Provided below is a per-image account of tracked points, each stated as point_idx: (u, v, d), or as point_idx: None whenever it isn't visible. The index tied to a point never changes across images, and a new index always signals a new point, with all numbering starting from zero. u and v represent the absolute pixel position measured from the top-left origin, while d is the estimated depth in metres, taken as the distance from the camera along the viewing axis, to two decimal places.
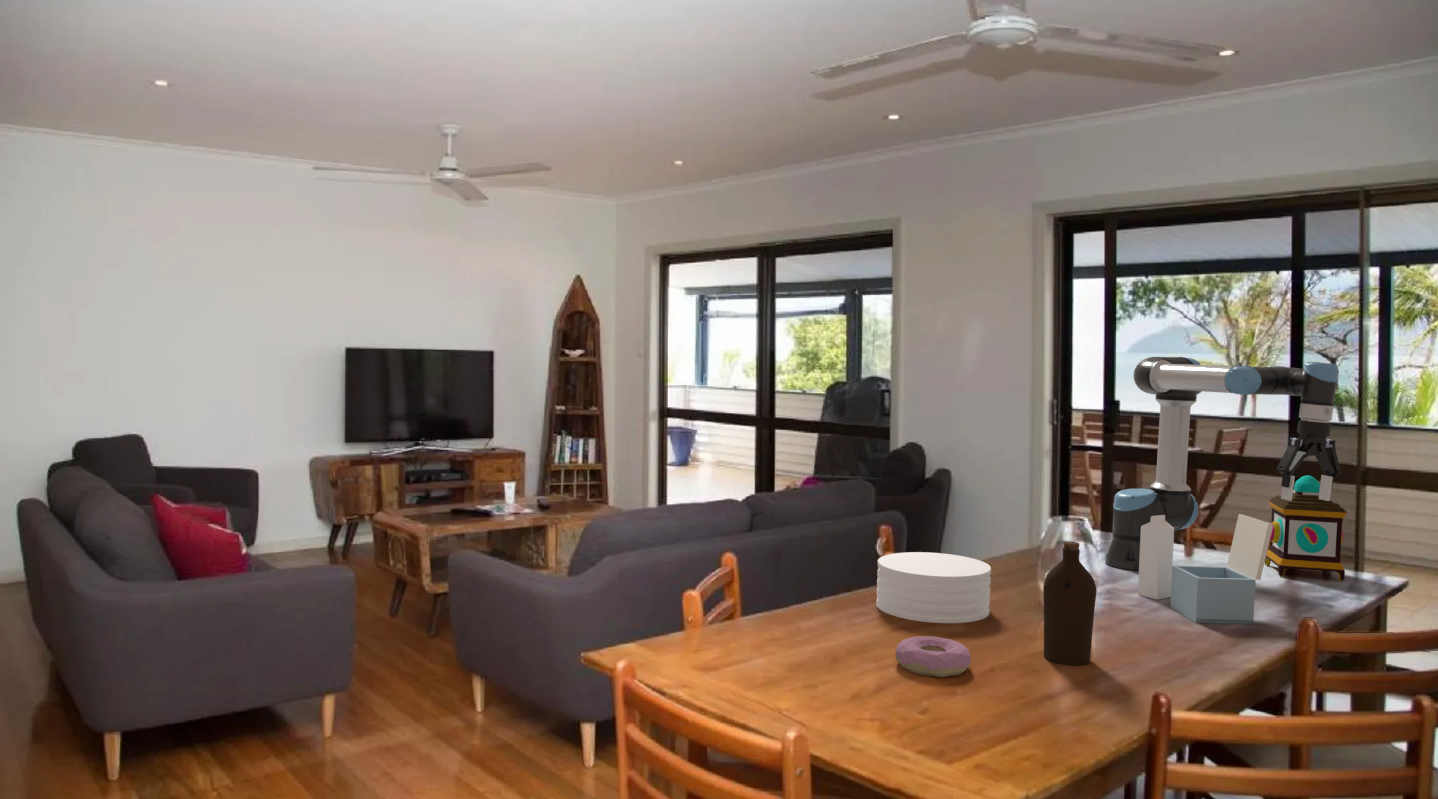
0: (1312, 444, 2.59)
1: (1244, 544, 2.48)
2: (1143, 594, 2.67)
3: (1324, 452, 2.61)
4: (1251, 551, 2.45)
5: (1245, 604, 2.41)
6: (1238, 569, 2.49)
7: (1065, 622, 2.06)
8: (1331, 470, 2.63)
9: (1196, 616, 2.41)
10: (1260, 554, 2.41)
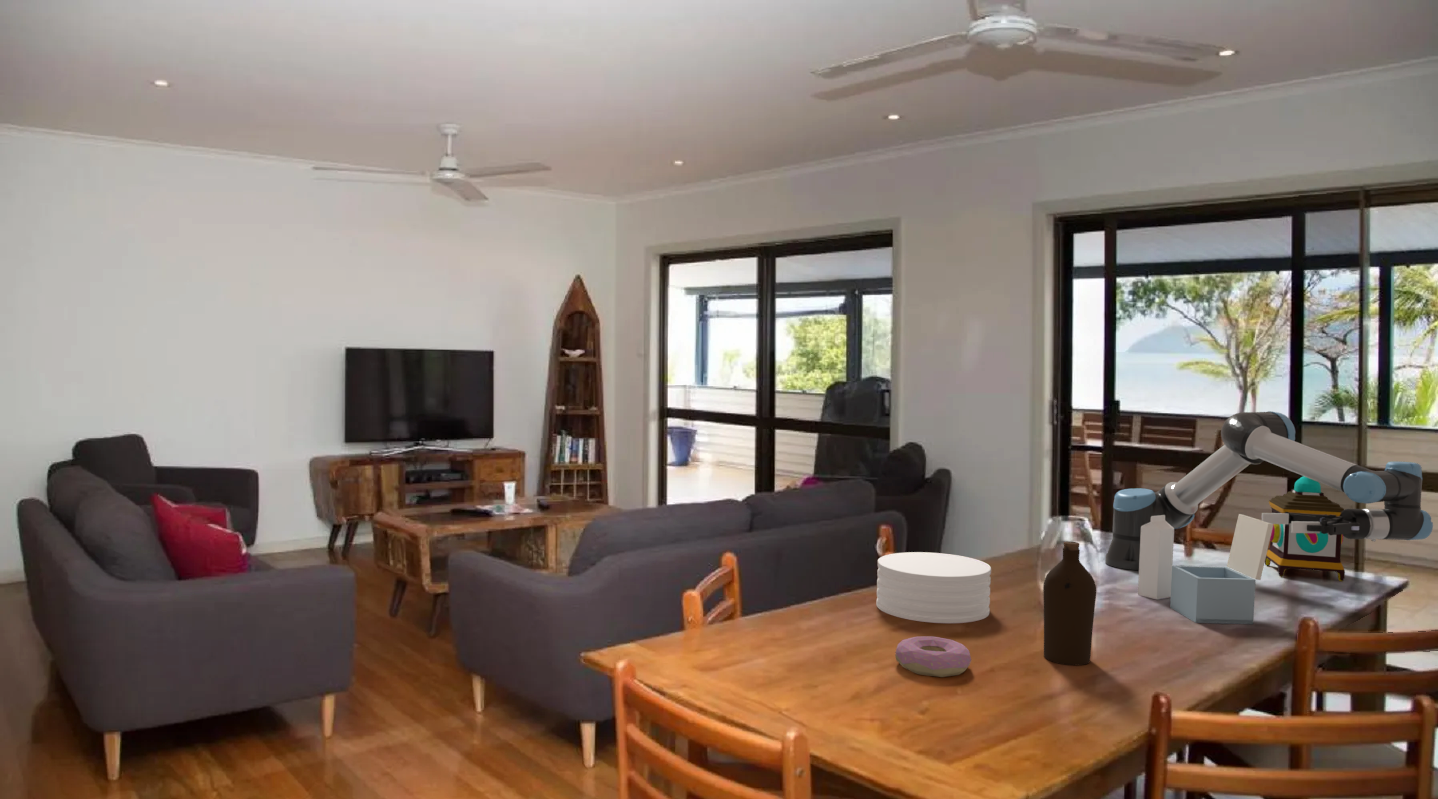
0: None
1: (1244, 544, 2.48)
2: (1143, 594, 2.67)
3: None
4: (1251, 551, 2.45)
5: (1245, 604, 2.41)
6: (1238, 569, 2.49)
7: (1065, 622, 2.06)
8: None
9: (1196, 616, 2.41)
10: (1260, 554, 2.41)
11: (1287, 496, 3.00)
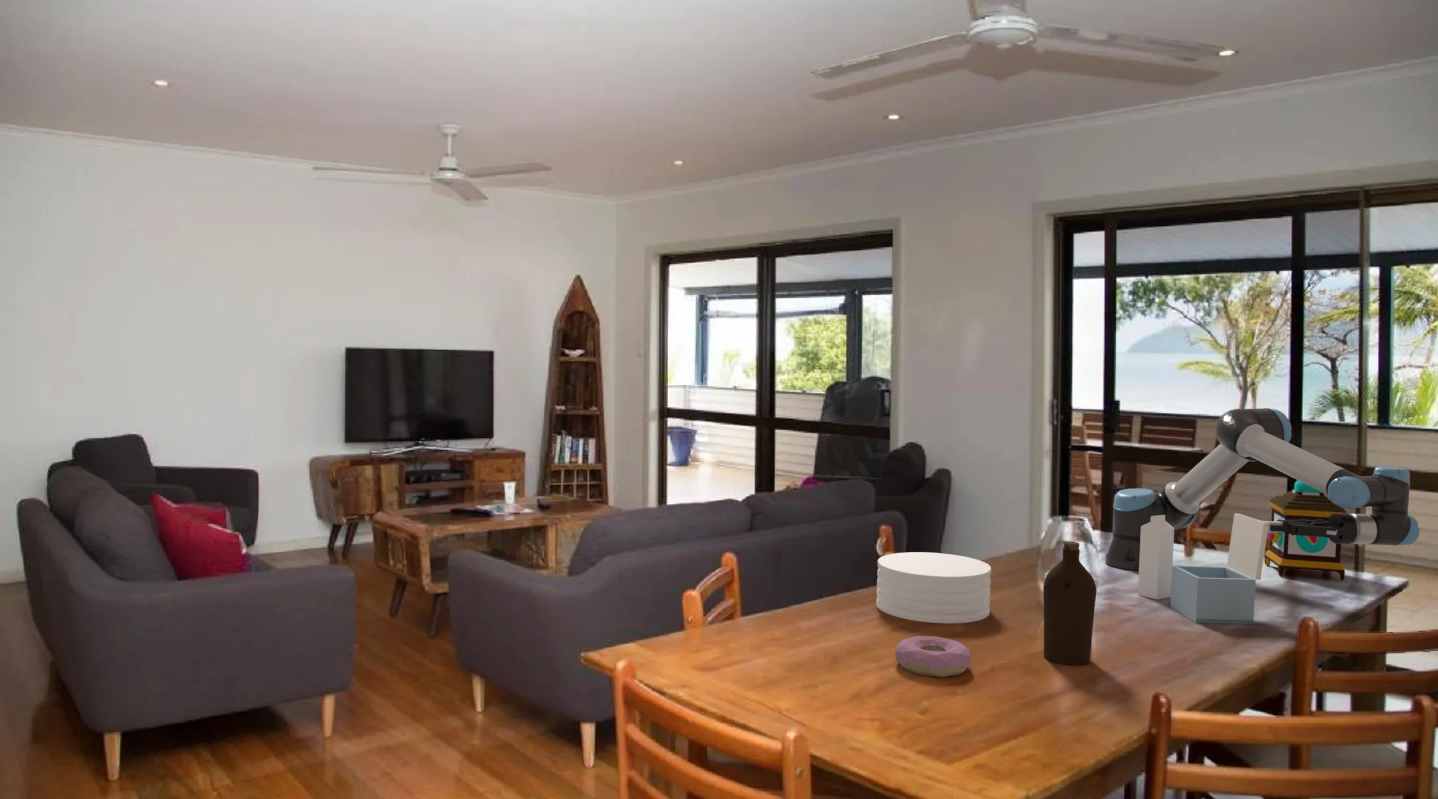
0: None
1: (1242, 544, 2.48)
2: (1143, 594, 2.67)
3: None
4: (1249, 551, 2.45)
5: (1245, 604, 2.41)
6: (1238, 569, 2.49)
7: (1065, 622, 2.06)
8: None
9: (1196, 616, 2.41)
10: (1258, 554, 2.41)
11: (1287, 496, 3.00)
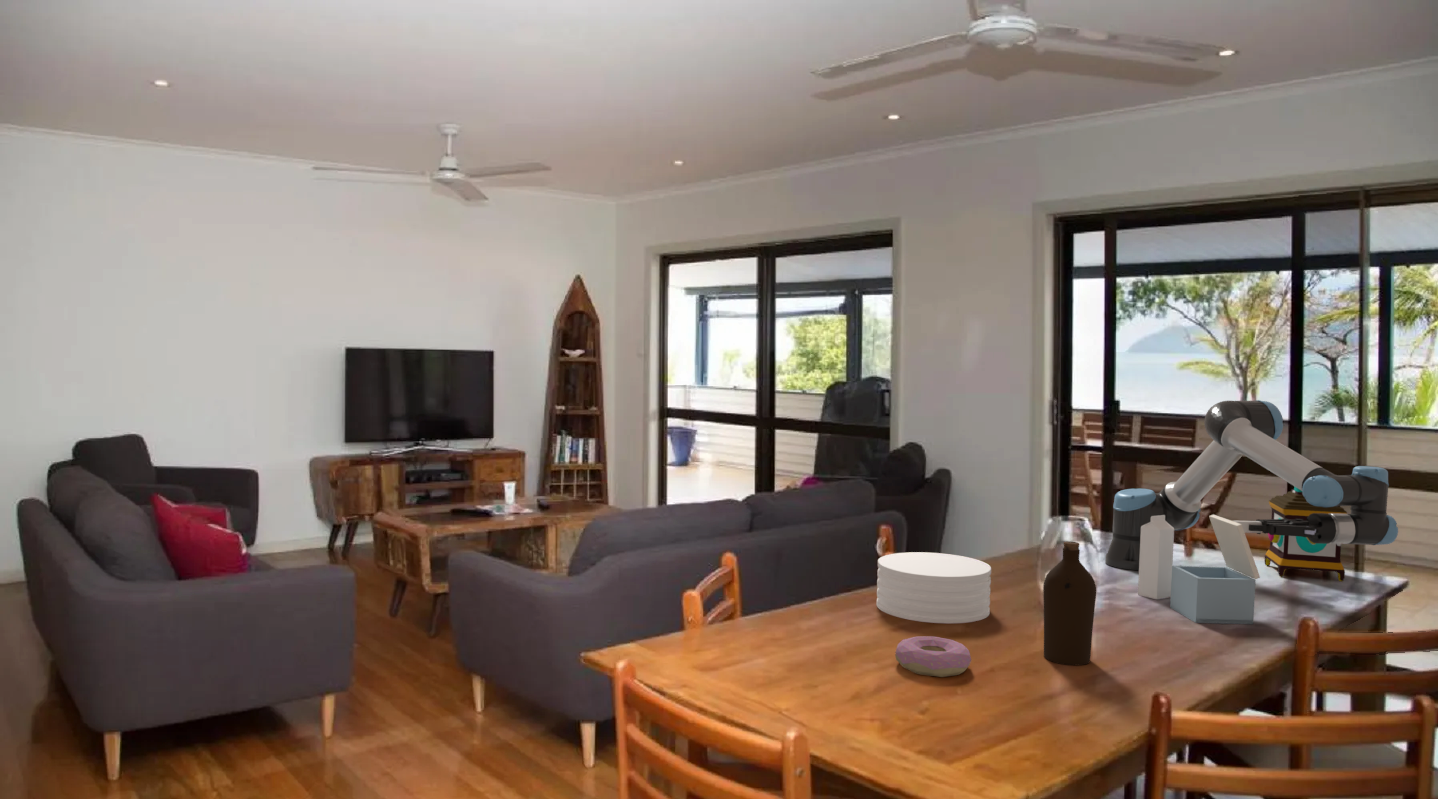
0: None
1: (1229, 545, 2.48)
2: (1143, 594, 2.67)
3: None
4: (1238, 552, 2.45)
5: (1245, 604, 2.41)
6: (1237, 569, 2.49)
7: (1065, 622, 2.06)
8: None
9: (1196, 616, 2.41)
10: (1246, 555, 2.41)
11: (1287, 496, 3.00)
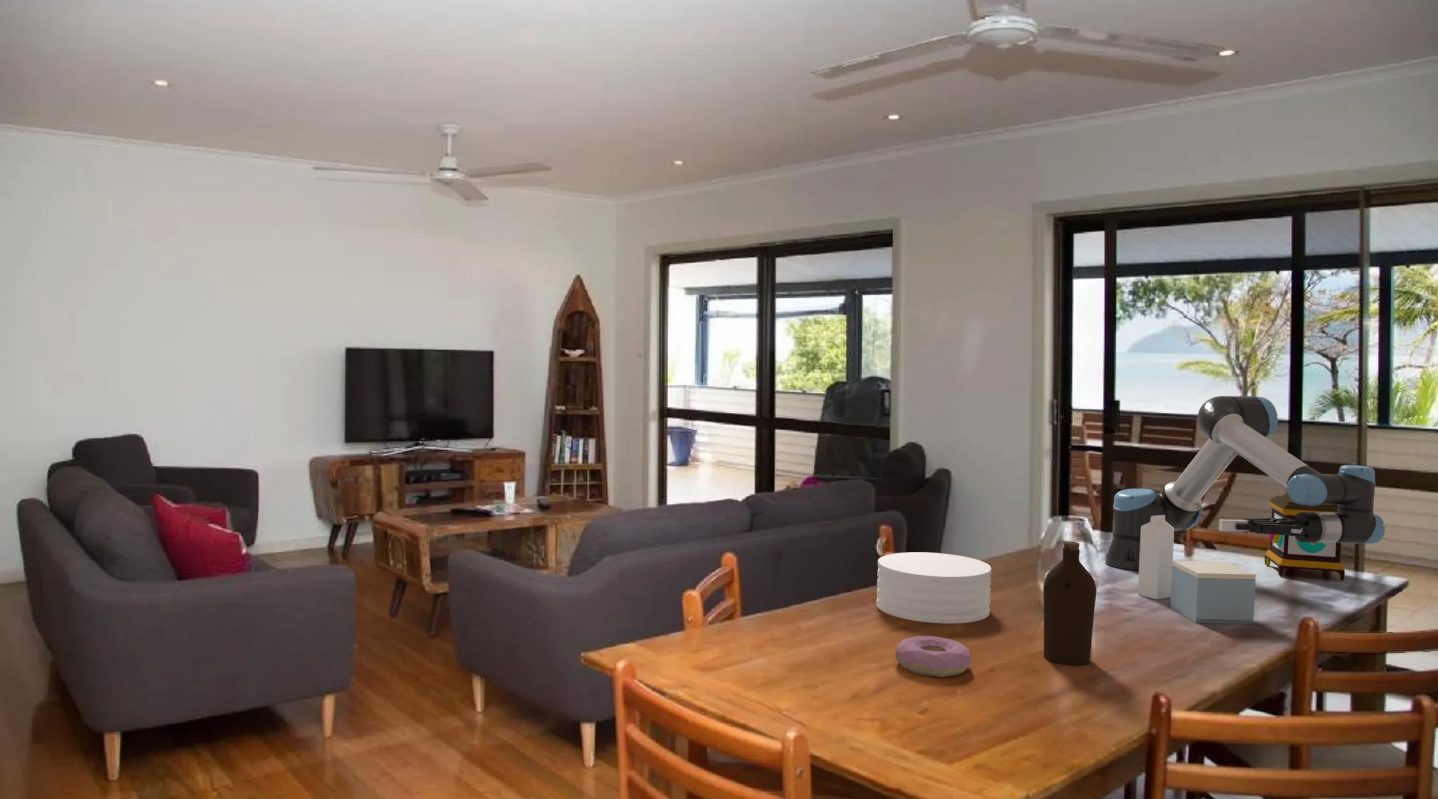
0: None
1: None
2: (1143, 594, 2.67)
3: None
4: None
5: (1245, 604, 2.41)
6: None
7: (1065, 622, 2.06)
8: None
9: (1196, 616, 2.41)
10: None
11: (1287, 496, 3.00)
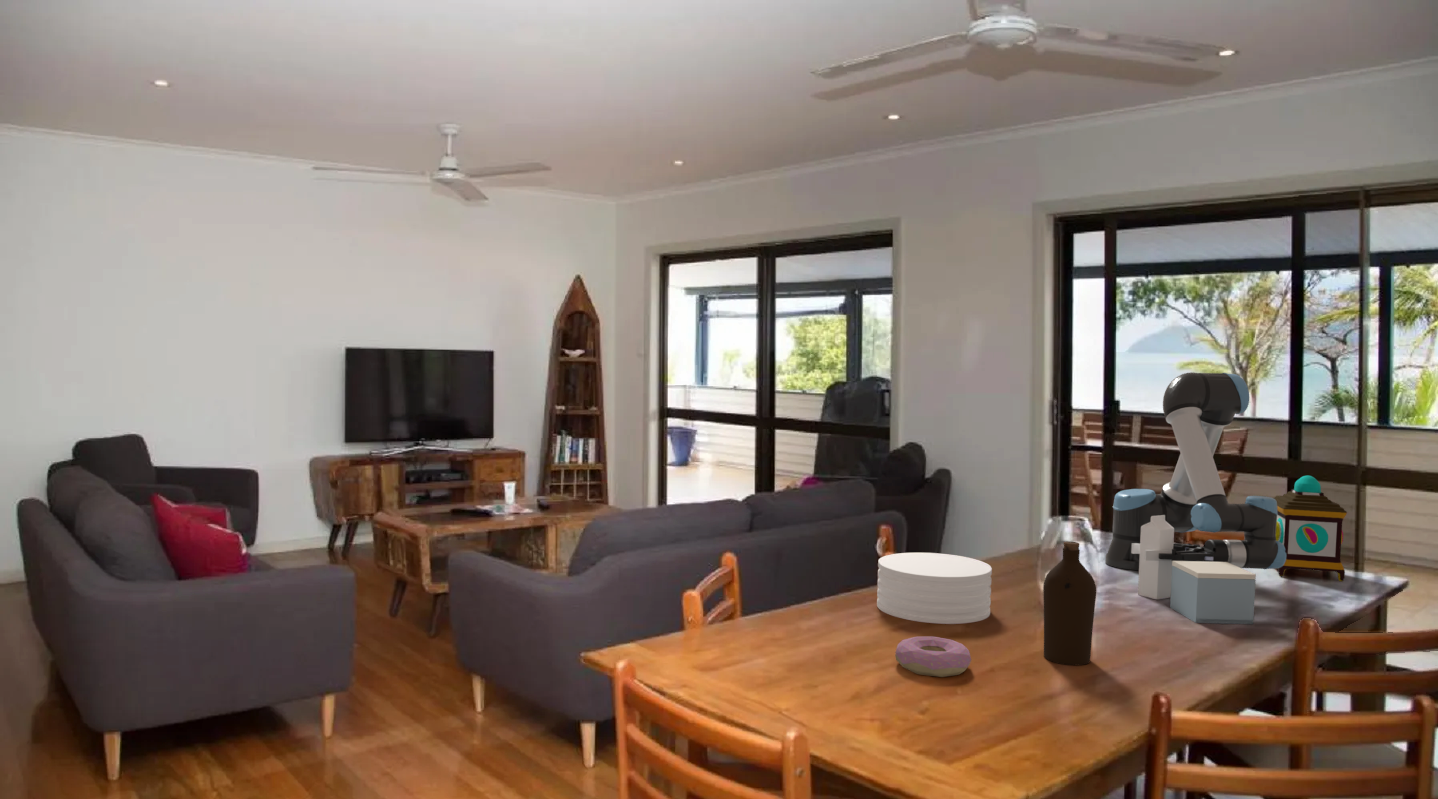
0: None
1: None
2: (1143, 594, 2.67)
3: None
4: None
5: (1245, 604, 2.41)
6: None
7: (1065, 622, 2.06)
8: None
9: (1196, 616, 2.41)
10: None
11: (1287, 496, 3.00)
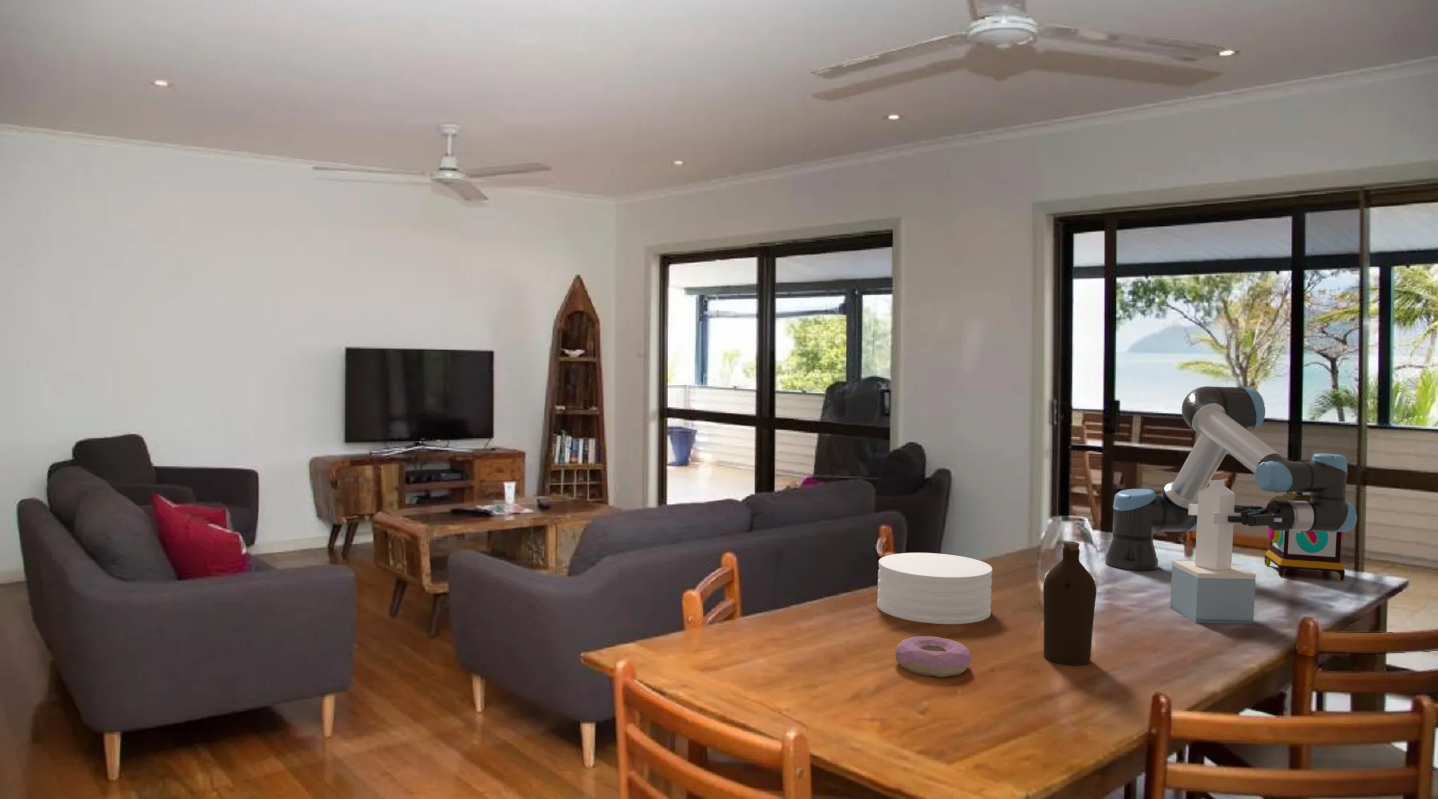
0: None
1: None
2: (1201, 565, 2.47)
3: None
4: None
5: (1245, 604, 2.41)
6: None
7: (1065, 622, 2.06)
8: None
9: (1196, 616, 2.41)
10: None
11: (1287, 496, 3.00)
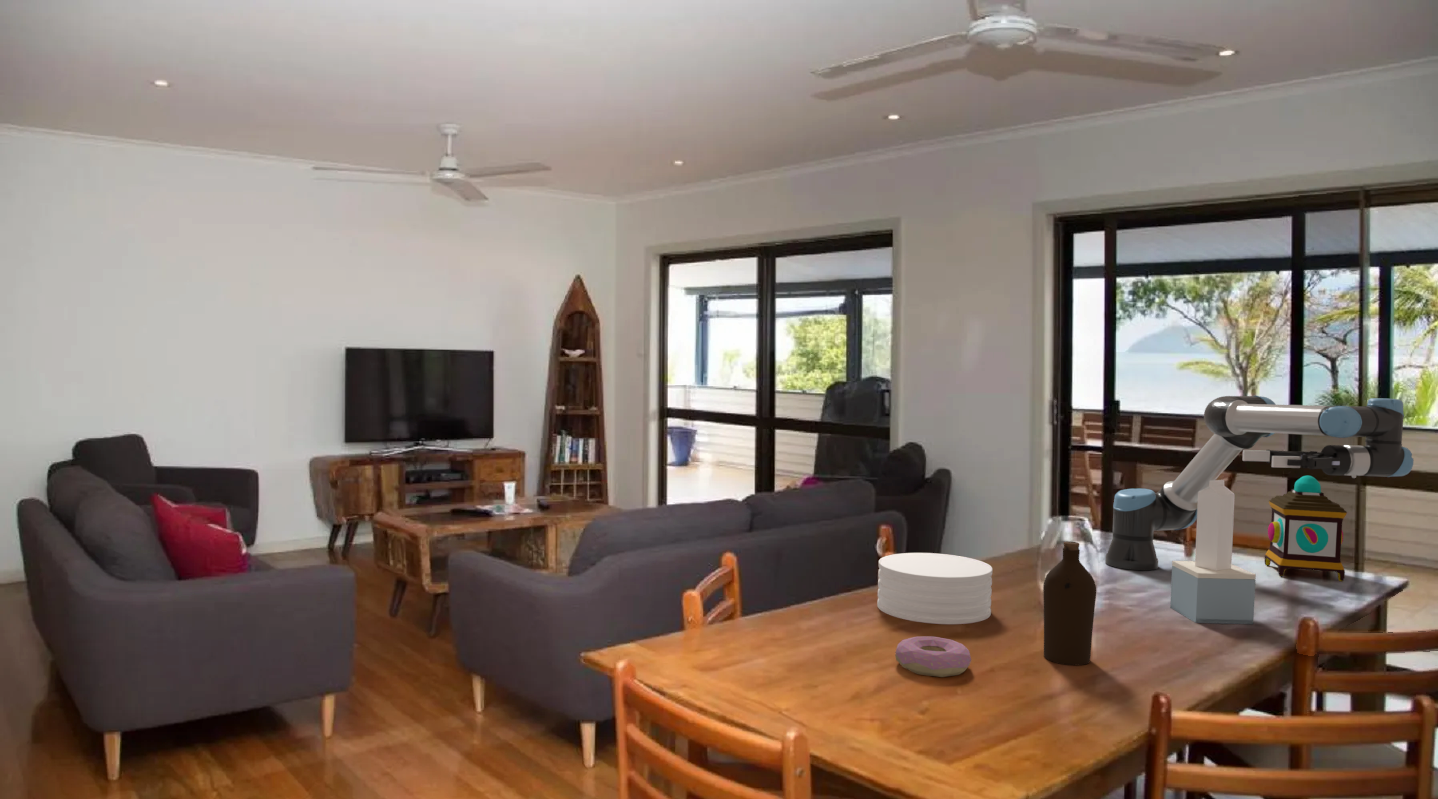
0: None
1: None
2: (1201, 565, 2.47)
3: None
4: None
5: (1245, 604, 2.41)
6: None
7: (1065, 622, 2.06)
8: None
9: (1196, 616, 2.41)
10: None
11: (1287, 496, 3.00)
